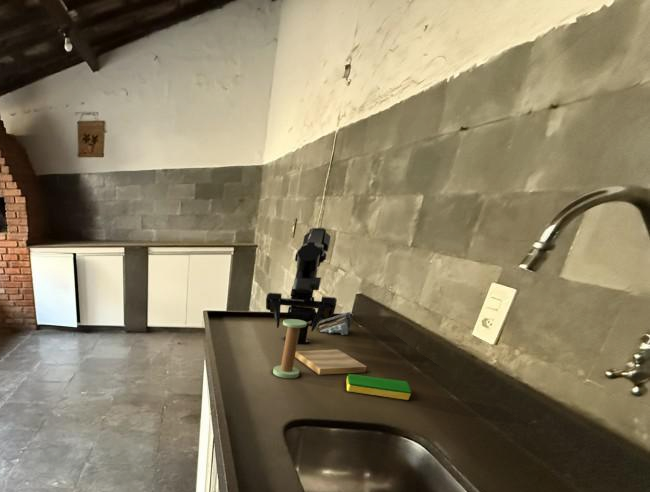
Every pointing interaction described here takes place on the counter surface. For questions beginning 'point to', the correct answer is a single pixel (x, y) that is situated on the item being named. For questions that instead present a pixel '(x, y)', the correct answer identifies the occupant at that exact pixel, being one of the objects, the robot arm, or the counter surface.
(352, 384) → the dish sponge
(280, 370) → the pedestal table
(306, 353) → the birch platform
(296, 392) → the counter surface
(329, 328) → the grey streaked wedge
